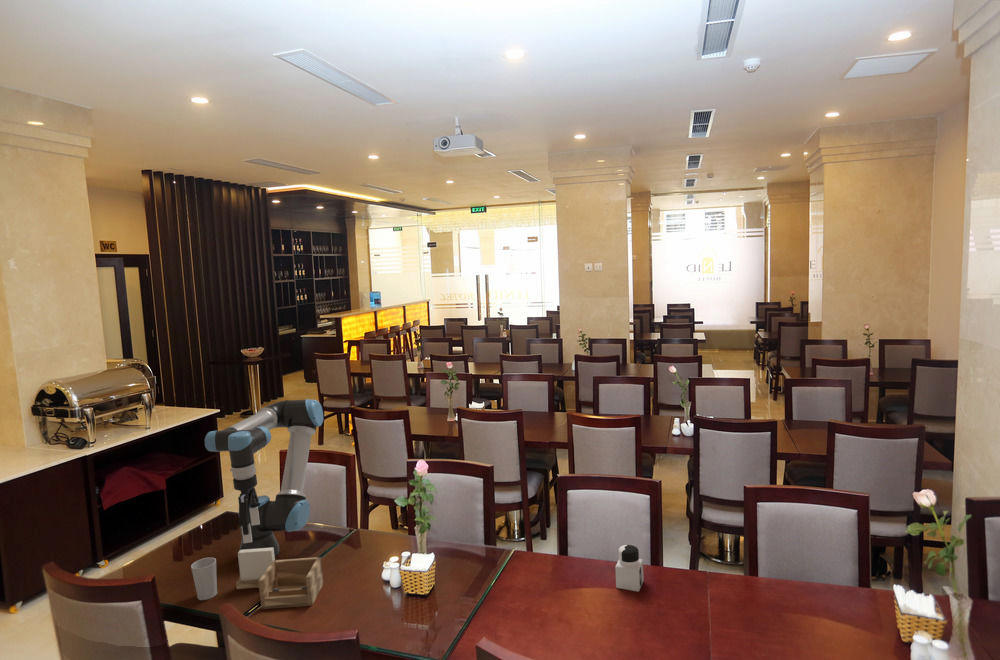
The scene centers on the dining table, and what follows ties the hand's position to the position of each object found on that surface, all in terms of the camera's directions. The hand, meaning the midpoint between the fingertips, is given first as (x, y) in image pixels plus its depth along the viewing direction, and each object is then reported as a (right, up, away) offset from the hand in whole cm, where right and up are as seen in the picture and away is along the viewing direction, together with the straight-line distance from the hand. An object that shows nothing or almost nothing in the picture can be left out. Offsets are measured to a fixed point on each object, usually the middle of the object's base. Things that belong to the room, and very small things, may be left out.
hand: (252, 533), depth 208 cm
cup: (-16, -22, +1) cm, 28 cm away
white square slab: (0, -21, +6) cm, 22 cm away
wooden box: (+16, -21, -3) cm, 26 cm away
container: (+132, -14, -9) cm, 133 cm away
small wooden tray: (0, -21, +6) cm, 21 cm away
